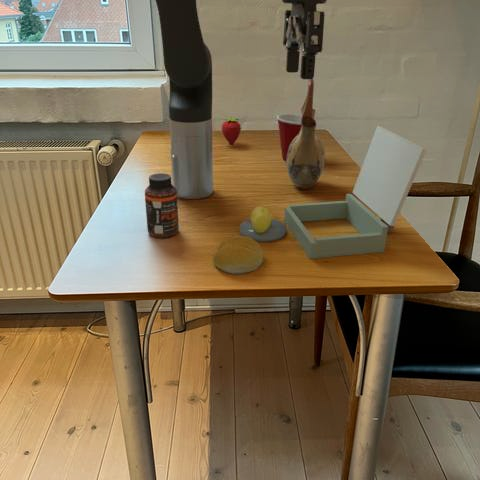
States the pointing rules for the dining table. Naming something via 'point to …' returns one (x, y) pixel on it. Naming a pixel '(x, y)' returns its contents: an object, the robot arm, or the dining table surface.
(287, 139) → the plastic cup
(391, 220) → the lid
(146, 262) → the dining table surface
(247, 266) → the bread roll
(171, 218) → the supplement bottle
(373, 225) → the frame
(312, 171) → the ceramic vessel
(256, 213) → the yellow oblong lump
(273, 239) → the saucer
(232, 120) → the strawberry
